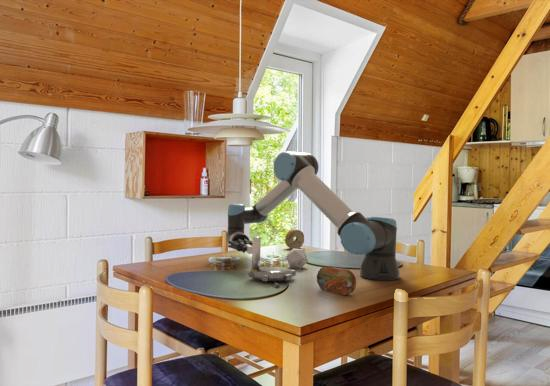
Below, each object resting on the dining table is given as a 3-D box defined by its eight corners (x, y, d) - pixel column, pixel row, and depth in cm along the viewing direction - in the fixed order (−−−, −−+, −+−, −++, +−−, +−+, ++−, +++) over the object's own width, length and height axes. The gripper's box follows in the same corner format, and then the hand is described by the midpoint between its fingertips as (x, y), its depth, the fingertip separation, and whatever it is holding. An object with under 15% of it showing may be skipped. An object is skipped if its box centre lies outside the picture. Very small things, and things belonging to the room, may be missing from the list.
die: (293, 271, 197) (308, 253, 197) (279, 259, 201) (293, 241, 201) (300, 275, 204) (314, 257, 204) (286, 263, 208) (300, 245, 208)
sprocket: (304, 277, 178) (305, 239, 178) (272, 283, 167) (273, 243, 166) (271, 269, 191) (272, 234, 190) (239, 275, 180) (240, 237, 179)
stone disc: (301, 247, 256) (301, 228, 256) (304, 248, 253) (305, 229, 252) (283, 248, 252) (284, 229, 251) (286, 249, 248) (287, 230, 248)
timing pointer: (273, 285, 170) (273, 282, 170) (277, 285, 171) (277, 282, 171) (275, 287, 167) (275, 285, 166) (279, 287, 167) (279, 284, 167)
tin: (315, 289, 167) (316, 264, 166) (321, 287, 169) (322, 263, 168) (351, 297, 156) (352, 271, 156) (357, 296, 158) (358, 270, 158)
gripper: (254, 249, 213) (266, 259, 190) (224, 250, 209) (233, 260, 187) (254, 232, 212) (267, 240, 189) (224, 233, 209) (234, 240, 186)
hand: (250, 250), depth 188 cm, fingers closed
